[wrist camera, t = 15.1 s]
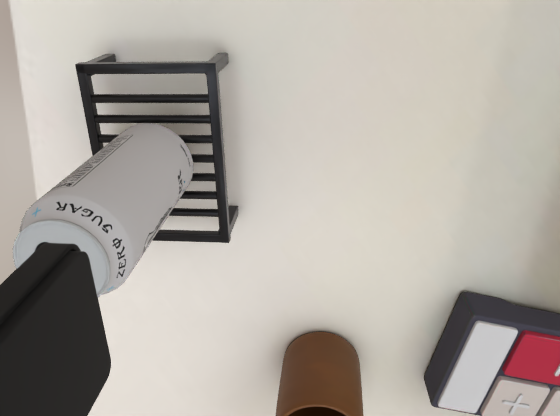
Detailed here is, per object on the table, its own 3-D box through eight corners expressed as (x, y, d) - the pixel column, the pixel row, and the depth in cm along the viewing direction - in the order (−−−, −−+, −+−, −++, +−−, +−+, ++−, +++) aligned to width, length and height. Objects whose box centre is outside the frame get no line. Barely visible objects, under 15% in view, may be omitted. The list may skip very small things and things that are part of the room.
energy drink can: (165, 209, 40) (80, 334, 27) (102, 159, 39) (-21, 264, 25) (212, 157, 38) (145, 264, 25) (147, 101, 37) (38, 183, 23)
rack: (103, 52, 40) (74, 64, 36) (229, 51, 40) (215, 63, 35) (130, 212, 46) (108, 239, 42) (239, 215, 46) (229, 243, 41)
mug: (342, 422, 55) (344, 506, 47) (272, 410, 55) (261, 491, 47) (367, 335, 50) (373, 412, 41) (289, 321, 50) (280, 395, 42)
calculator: (586, 442, 48) (431, 413, 47) (565, 406, 52) (422, 378, 51) (647, 354, 43) (475, 320, 43) (619, 321, 47) (461, 289, 46)
